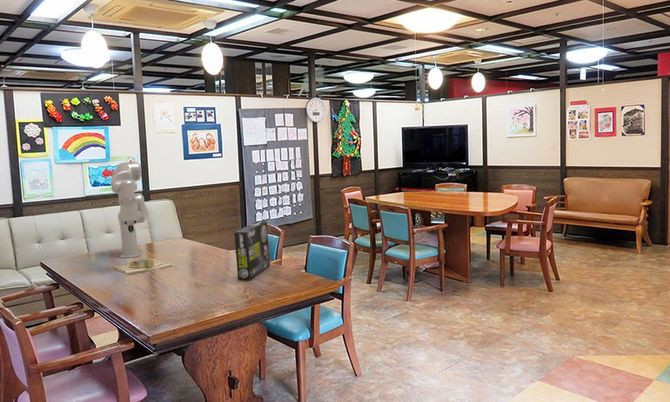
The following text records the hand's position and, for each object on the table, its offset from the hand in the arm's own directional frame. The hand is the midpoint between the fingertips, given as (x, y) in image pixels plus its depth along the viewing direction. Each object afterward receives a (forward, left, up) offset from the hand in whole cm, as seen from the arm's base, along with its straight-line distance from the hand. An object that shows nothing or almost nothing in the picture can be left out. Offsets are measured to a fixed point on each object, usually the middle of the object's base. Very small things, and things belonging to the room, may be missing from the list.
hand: (131, 232), depth 314 cm
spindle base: (-3, +6, -23) cm, 24 cm away
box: (+64, +44, -23) cm, 81 cm away
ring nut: (-1, +6, -22) cm, 22 cm away
